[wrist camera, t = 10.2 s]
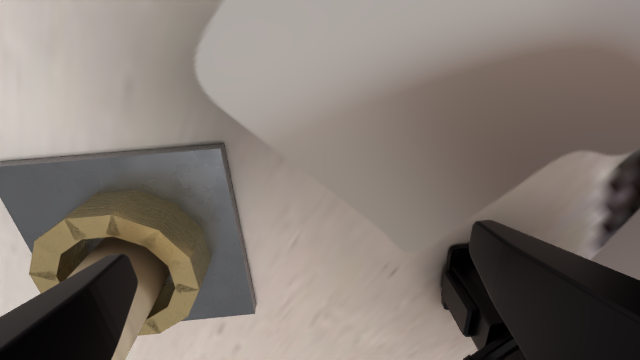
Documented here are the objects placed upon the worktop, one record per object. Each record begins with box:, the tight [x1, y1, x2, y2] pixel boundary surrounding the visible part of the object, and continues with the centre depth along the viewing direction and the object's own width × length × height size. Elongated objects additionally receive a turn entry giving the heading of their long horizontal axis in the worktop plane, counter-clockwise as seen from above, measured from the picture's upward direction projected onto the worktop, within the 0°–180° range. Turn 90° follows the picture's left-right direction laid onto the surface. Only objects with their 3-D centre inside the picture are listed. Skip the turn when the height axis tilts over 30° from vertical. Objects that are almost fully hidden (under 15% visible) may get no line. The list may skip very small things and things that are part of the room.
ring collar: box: [0, 143, 256, 335], centre depth 21 cm, size 14×14×4 cm
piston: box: [68, 237, 170, 360], centre depth 18 cm, size 5×5×9 cm
